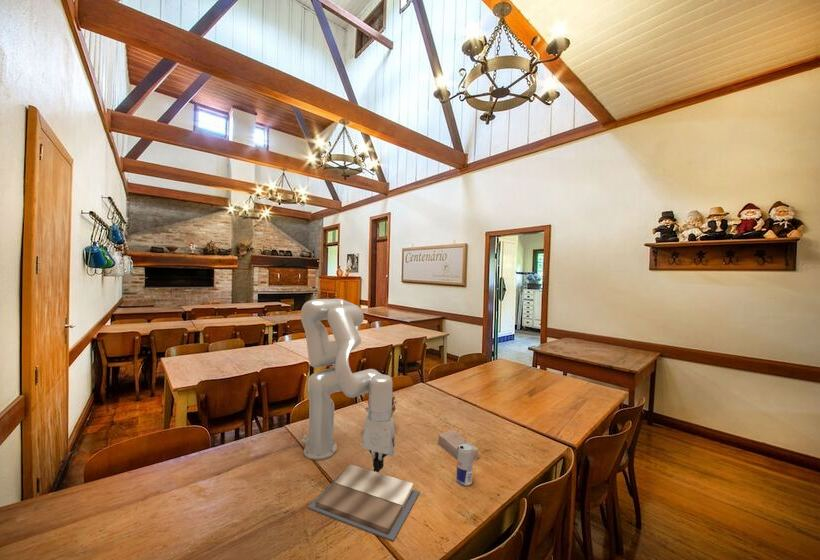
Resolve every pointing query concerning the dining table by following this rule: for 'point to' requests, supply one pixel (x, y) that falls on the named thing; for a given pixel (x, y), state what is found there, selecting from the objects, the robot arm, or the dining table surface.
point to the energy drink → (464, 464)
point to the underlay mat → (390, 536)
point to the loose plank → (376, 484)
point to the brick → (454, 443)
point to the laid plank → (360, 507)
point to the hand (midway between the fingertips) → (378, 469)
